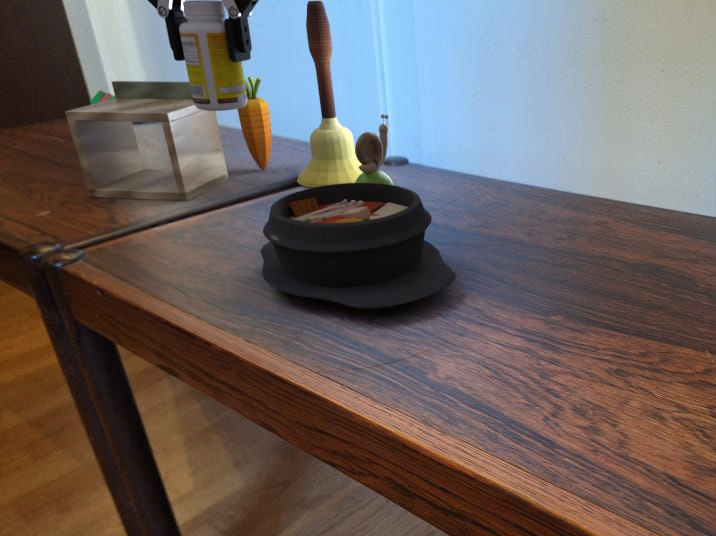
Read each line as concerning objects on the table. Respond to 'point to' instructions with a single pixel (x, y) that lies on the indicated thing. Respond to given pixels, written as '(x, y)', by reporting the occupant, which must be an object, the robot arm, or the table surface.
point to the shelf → (120, 149)
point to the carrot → (256, 124)
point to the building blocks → (102, 97)
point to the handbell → (327, 114)
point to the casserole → (353, 246)
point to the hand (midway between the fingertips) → (213, 58)
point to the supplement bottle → (210, 58)
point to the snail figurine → (373, 155)
